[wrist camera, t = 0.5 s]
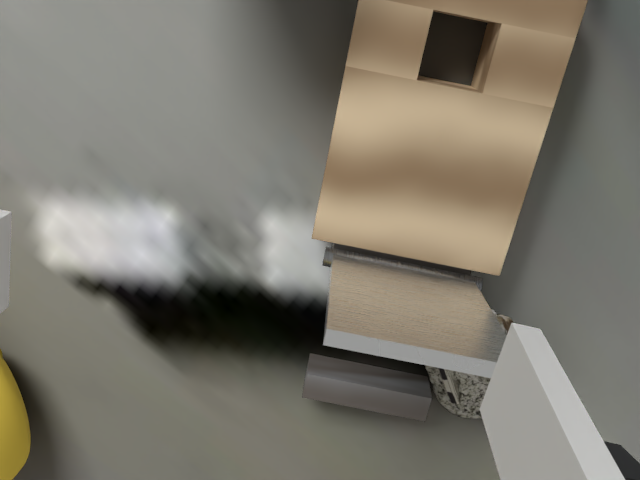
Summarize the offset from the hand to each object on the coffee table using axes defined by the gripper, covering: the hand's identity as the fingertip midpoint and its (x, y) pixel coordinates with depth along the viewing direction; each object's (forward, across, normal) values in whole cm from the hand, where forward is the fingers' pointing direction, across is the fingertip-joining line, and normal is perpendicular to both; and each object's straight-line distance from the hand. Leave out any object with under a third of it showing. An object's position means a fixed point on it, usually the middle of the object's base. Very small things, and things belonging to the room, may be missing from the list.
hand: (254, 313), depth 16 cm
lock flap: (+22, +7, -7) cm, 24 cm away
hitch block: (+26, +7, -4) cm, 27 cm away
